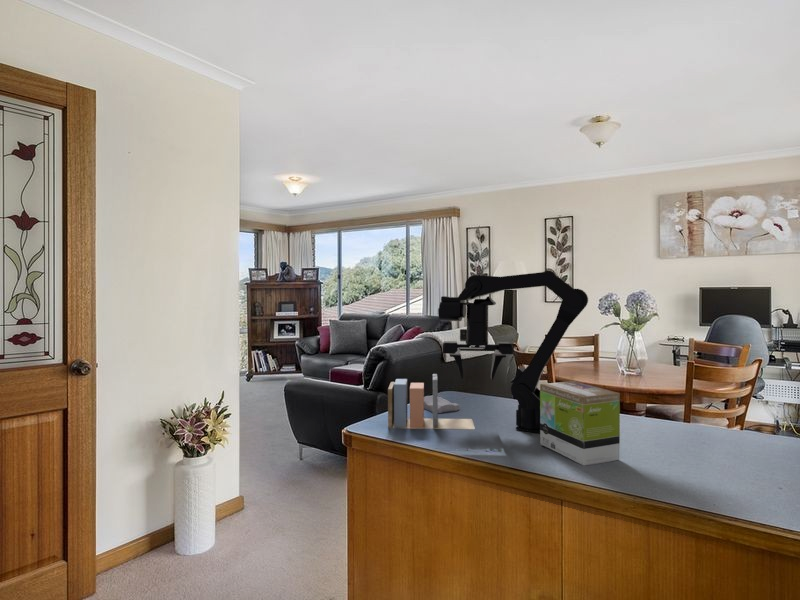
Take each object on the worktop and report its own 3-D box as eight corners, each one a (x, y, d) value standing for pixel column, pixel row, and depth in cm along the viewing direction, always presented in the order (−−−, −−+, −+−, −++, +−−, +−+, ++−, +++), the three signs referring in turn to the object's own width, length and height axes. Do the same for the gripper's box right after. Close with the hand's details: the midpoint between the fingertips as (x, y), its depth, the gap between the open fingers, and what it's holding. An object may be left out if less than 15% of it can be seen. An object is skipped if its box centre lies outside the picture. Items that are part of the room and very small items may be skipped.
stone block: (442, 412, 158) (414, 409, 154) (445, 396, 158) (417, 393, 154) (462, 422, 147) (433, 419, 143) (465, 406, 147) (436, 402, 143)
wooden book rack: (471, 423, 137) (471, 382, 136) (475, 433, 127) (475, 389, 127) (391, 422, 138) (391, 381, 138) (388, 432, 128) (387, 388, 128)
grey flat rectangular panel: (437, 417, 137) (437, 374, 137) (437, 427, 128) (437, 379, 128) (432, 417, 137) (432, 373, 137) (432, 426, 128) (432, 379, 128)
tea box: (538, 445, 117) (538, 382, 117) (573, 441, 120) (573, 379, 120) (583, 467, 103) (583, 395, 103) (621, 460, 106) (621, 391, 106)
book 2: (424, 419, 136) (423, 382, 136) (423, 427, 128) (423, 388, 128) (411, 419, 137) (410, 382, 136) (409, 427, 129) (409, 388, 129)
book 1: (407, 419, 137) (407, 378, 137) (405, 427, 129) (405, 384, 129) (396, 419, 137) (396, 378, 137) (394, 427, 129) (394, 384, 129)
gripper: (507, 320, 143) (507, 375, 143) (442, 319, 144) (441, 374, 144) (514, 322, 132) (513, 382, 132) (442, 322, 133) (442, 381, 133)
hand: (477, 379), depth 136 cm, fingers open, 8 cm apart
